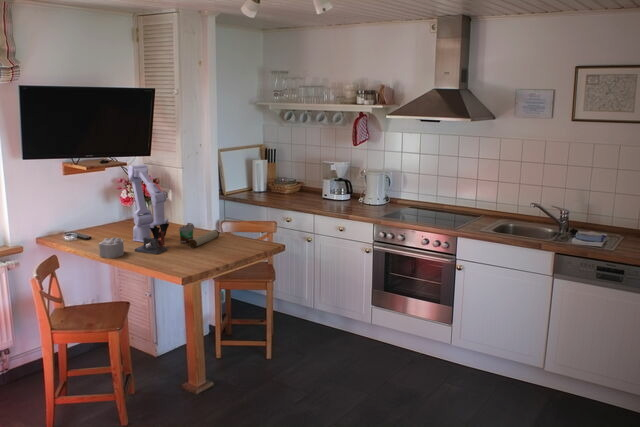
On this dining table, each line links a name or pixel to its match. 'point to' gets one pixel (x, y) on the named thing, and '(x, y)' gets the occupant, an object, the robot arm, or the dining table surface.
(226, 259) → the dining table surface
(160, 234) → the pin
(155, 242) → the eye bracket
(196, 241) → the rolling pin
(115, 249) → the lumpy-topped squat cylinder
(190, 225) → the food container
